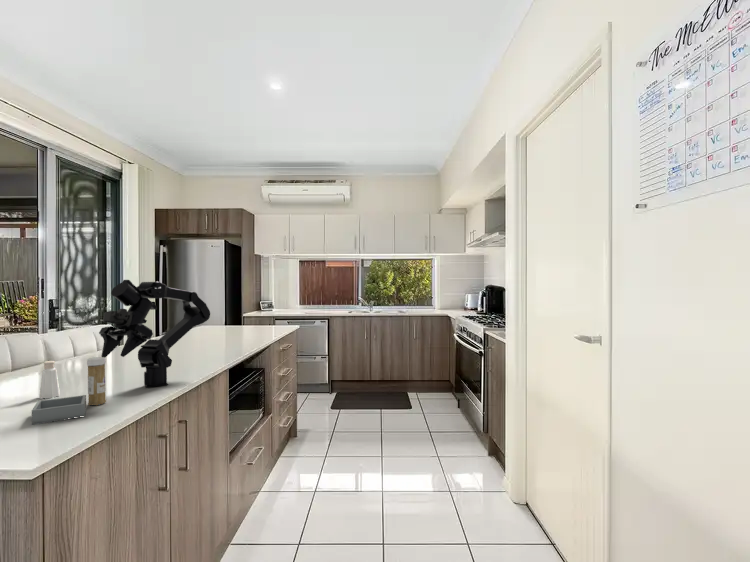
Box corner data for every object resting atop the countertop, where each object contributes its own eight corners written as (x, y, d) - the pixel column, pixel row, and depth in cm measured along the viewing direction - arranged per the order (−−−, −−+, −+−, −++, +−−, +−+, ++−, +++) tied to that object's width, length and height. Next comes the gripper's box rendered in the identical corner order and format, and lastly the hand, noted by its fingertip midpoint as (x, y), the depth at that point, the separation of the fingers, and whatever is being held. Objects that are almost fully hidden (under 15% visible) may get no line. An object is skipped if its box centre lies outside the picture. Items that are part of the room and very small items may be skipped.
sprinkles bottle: (106, 404, 128) (105, 358, 128) (87, 407, 126) (87, 359, 126) (105, 401, 132) (105, 356, 132) (87, 403, 130) (86, 357, 130)
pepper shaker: (57, 393, 142) (56, 359, 142) (62, 396, 139) (62, 361, 139) (36, 397, 138) (36, 361, 138) (41, 399, 135) (41, 363, 135)
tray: (86, 407, 126) (86, 394, 126) (84, 417, 116) (84, 403, 116) (38, 413, 120) (37, 400, 120) (31, 424, 110) (31, 410, 110)
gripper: (98, 303, 143) (70, 345, 135) (136, 297, 135) (109, 342, 126) (125, 321, 151) (101, 362, 142) (163, 316, 143) (140, 360, 134)
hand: (112, 356), depth 136 cm, fingers open, 9 cm apart
